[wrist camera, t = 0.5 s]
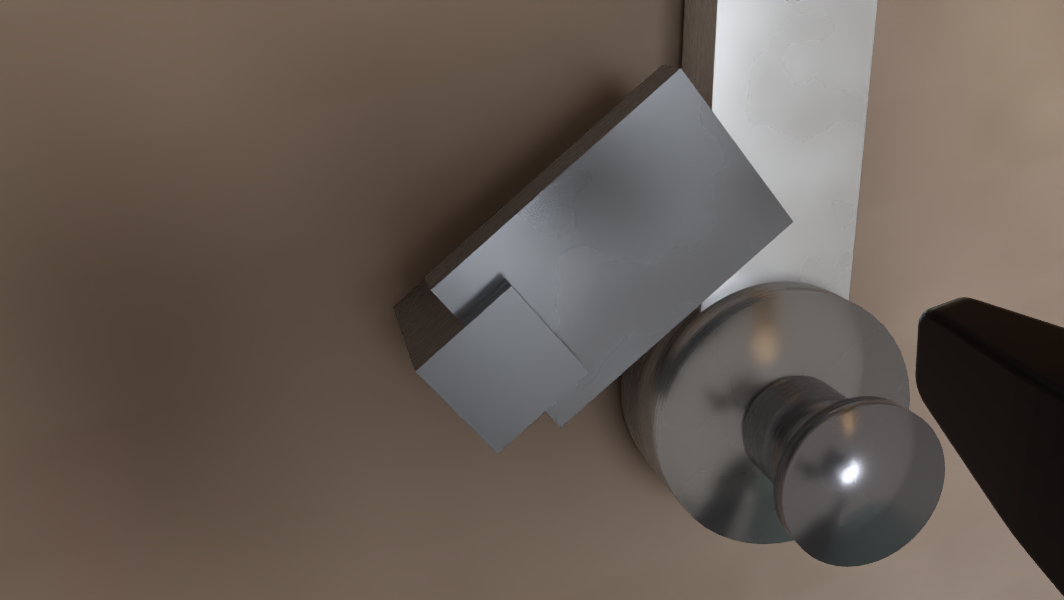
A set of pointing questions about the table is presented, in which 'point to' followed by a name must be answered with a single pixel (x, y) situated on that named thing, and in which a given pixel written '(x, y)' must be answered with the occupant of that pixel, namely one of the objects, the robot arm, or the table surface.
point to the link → (769, 255)
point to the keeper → (590, 263)
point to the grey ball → (844, 469)
